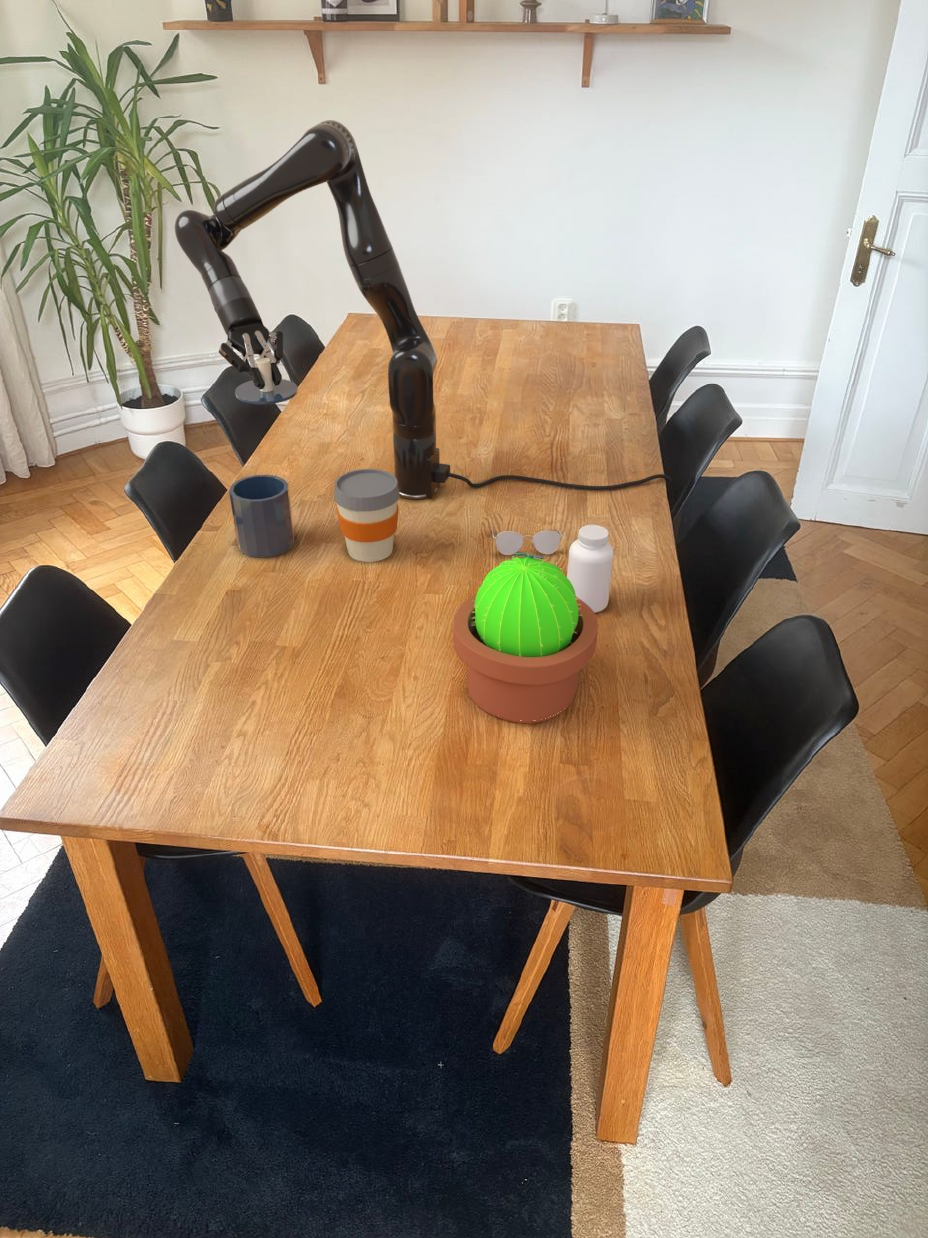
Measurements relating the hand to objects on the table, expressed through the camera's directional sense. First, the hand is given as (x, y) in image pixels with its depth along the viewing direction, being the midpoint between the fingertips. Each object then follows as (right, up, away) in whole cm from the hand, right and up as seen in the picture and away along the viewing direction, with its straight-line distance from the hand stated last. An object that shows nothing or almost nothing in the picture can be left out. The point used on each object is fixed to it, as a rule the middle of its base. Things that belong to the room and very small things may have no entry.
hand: (270, 384), depth 185 cm
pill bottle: (+60, -43, -10) cm, 75 cm away
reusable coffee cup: (+19, -32, +5) cm, 38 cm away
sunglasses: (+50, -31, +7) cm, 59 cm away
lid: (-1, -1, +3) cm, 3 cm away
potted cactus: (+47, -57, -31) cm, 80 cm away
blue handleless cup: (-2, -30, +7) cm, 31 cm away
